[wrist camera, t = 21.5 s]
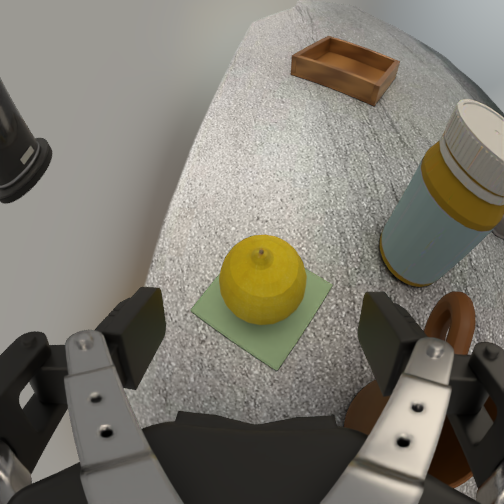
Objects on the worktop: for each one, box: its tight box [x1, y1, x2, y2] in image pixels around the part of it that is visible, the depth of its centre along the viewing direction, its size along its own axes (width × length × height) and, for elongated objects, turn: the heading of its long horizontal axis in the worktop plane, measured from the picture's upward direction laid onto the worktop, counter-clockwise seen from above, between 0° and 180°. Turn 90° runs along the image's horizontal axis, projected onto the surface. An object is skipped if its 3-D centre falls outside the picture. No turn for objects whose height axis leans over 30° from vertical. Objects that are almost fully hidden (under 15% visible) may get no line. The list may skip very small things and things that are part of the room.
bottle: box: [380, 99, 504, 287], centre depth 18 cm, size 7×7×15 cm
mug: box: [344, 291, 497, 488], centre depth 15 cm, size 12×8×9 cm, turn 162°
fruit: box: [219, 235, 307, 325], centre depth 19 cm, size 6×6×8 cm
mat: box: [191, 236, 333, 371], centre depth 23 cm, size 8×8×1 cm
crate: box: [291, 36, 400, 106], centre depth 38 cm, size 14×14×4 cm
